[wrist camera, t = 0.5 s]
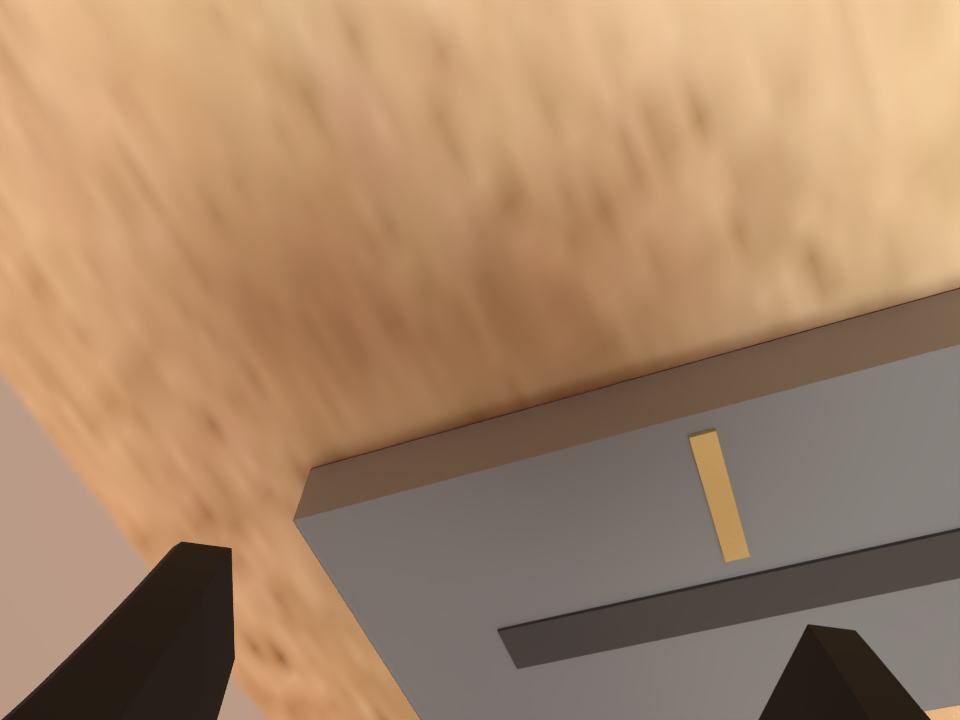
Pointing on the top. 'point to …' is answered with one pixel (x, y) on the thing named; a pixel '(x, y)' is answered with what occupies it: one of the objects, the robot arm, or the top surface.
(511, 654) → the fader console
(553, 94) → the top surface
